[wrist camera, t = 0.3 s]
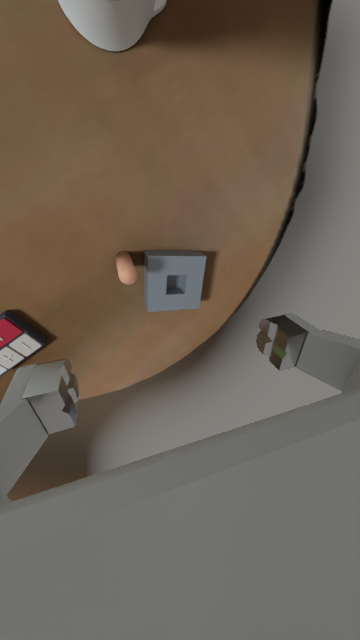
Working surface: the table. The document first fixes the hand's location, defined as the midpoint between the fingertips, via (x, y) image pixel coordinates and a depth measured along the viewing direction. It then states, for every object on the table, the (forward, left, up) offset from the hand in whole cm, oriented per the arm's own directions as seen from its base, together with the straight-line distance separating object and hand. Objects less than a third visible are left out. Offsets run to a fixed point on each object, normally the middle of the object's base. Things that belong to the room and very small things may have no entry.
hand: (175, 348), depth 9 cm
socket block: (+13, +13, -46) cm, 49 cm away
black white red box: (+29, -28, -46) cm, 61 cm away
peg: (+8, +1, -46) cm, 47 cm away
